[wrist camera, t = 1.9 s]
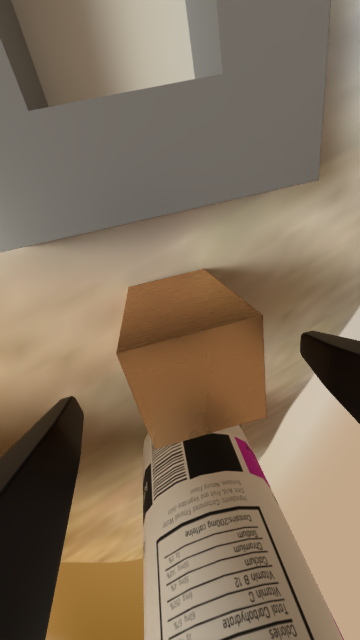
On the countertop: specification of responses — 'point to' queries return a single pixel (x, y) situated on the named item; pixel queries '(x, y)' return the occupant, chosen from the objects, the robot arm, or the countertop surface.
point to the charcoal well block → (153, 108)
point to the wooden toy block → (192, 357)
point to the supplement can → (222, 549)
